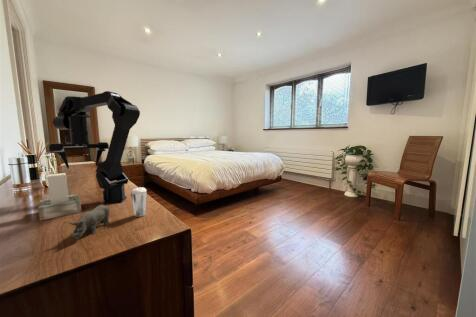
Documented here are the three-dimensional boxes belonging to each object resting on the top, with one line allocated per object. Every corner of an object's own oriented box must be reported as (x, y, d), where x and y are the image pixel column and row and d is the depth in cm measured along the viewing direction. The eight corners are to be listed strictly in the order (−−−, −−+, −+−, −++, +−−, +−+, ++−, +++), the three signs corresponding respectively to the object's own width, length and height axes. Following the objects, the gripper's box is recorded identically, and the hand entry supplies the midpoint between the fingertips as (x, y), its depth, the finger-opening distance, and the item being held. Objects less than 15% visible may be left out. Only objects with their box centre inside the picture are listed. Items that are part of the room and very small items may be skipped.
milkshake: (133, 212, 65) (131, 183, 64) (150, 212, 66) (148, 183, 65) (127, 218, 61) (124, 187, 60) (144, 217, 61) (142, 186, 60)
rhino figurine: (61, 246, 46) (58, 222, 45) (100, 221, 59) (98, 202, 59) (79, 246, 46) (76, 221, 45) (114, 221, 59) (112, 202, 59)
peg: (69, 208, 70) (65, 172, 69) (70, 211, 67) (66, 174, 65) (51, 211, 67) (47, 174, 65) (52, 215, 64) (47, 176, 62)
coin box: (78, 204, 74) (77, 194, 74) (81, 211, 67) (80, 200, 66) (41, 211, 67) (40, 200, 67) (39, 220, 60) (38, 207, 60)
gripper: (102, 130, 91) (105, 163, 93) (47, 129, 79) (51, 167, 80) (107, 129, 83) (110, 165, 85) (46, 128, 71) (51, 171, 72)
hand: (82, 167), depth 81 cm, fingers open, 9 cm apart
